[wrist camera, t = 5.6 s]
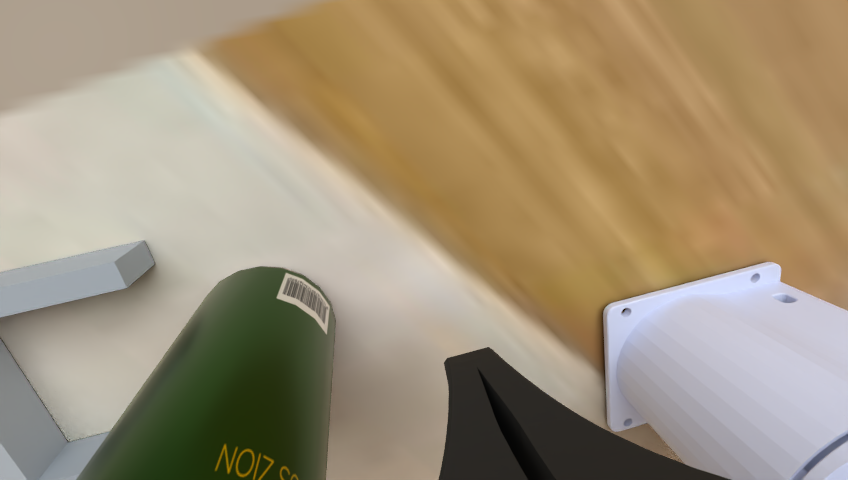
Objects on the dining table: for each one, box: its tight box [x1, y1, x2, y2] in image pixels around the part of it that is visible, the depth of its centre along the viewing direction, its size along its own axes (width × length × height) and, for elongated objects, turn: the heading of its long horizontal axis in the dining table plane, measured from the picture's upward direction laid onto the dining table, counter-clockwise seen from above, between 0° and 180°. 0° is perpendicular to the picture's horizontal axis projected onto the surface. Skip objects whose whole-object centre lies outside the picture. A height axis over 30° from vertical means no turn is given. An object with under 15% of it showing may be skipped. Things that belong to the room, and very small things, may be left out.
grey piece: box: [0, 241, 155, 480], centre depth 18 cm, size 8×17×2 cm, turn 11°
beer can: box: [76, 266, 336, 480], centre depth 12 cm, size 5×5×12 cm
